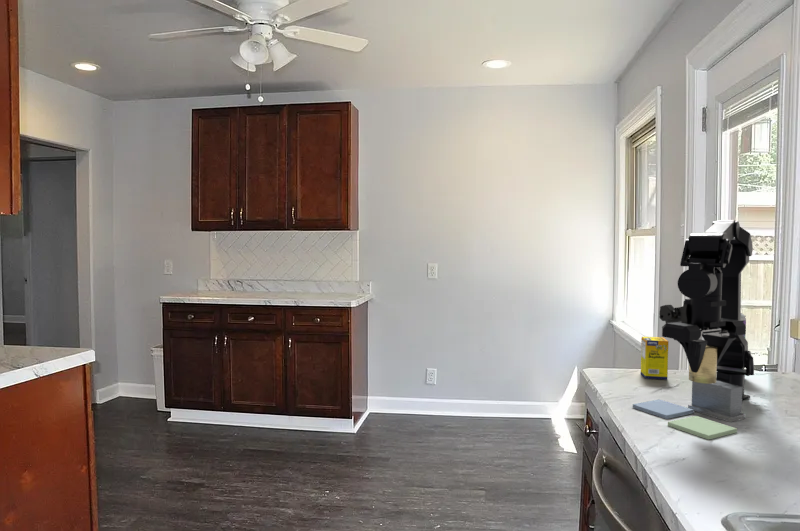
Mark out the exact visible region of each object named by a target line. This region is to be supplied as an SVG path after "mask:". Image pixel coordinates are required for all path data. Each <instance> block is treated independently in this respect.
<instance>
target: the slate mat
mask: <svg viewBox="0 0 800 531" xmlns="http://www.w3.org/2000/svg"><path fill="white" fill-rule="evenodd" d="M632 408H633V409H635V410H638V411H641V412H644V413H647V414H650V415H654V416H657V417H659V418H662V419H666V420H668V419H673V418H677V417H678V418H679V417H681V416H688V415H692V414H694V413H695V411H694V410H693V409H690V408H688V406H686V407H685V406H683V405H679V404H676V403H673V402H669V401H668V400H667V401H666V400H663V399H660V398H658V399H654V400H648V401H643V402H637V403H633V404H632Z"/></svg>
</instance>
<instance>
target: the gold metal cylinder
mask: <svg viewBox="0 0 800 531" xmlns="http://www.w3.org/2000/svg"><path fill="white" fill-rule="evenodd" d="M716 378H717V347H715V346H710V345H706V348H705V352H704V355H703V358H702V361H701V364H700V367H699V370H698V372H697V373H695V372H692V371H691V368H690V365H689V364H688V380H689V381H691V382H692V381H693V382H698V383H706V384H712V383H716Z"/></svg>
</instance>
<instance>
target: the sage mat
mask: <svg viewBox="0 0 800 531" xmlns="http://www.w3.org/2000/svg"><path fill="white" fill-rule="evenodd" d="M667 426H668V427H670V428H674V429H676V430H679V431H683V432H685V433H688V434H691V435H694V436H697V437H699V438H703V439H705V440H712V439H716V438H720V437H723V436H728V435H732V434H735V433H736V434H737V433H738V428H736V427H733V426H730V425H727V424H723V423H720V422H718V421H714V420H711V419H707V418H705V417H702V416H698V415H694V416H689V417H684V418H680V419H676V420H670V421H668V422H667Z"/></svg>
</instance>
